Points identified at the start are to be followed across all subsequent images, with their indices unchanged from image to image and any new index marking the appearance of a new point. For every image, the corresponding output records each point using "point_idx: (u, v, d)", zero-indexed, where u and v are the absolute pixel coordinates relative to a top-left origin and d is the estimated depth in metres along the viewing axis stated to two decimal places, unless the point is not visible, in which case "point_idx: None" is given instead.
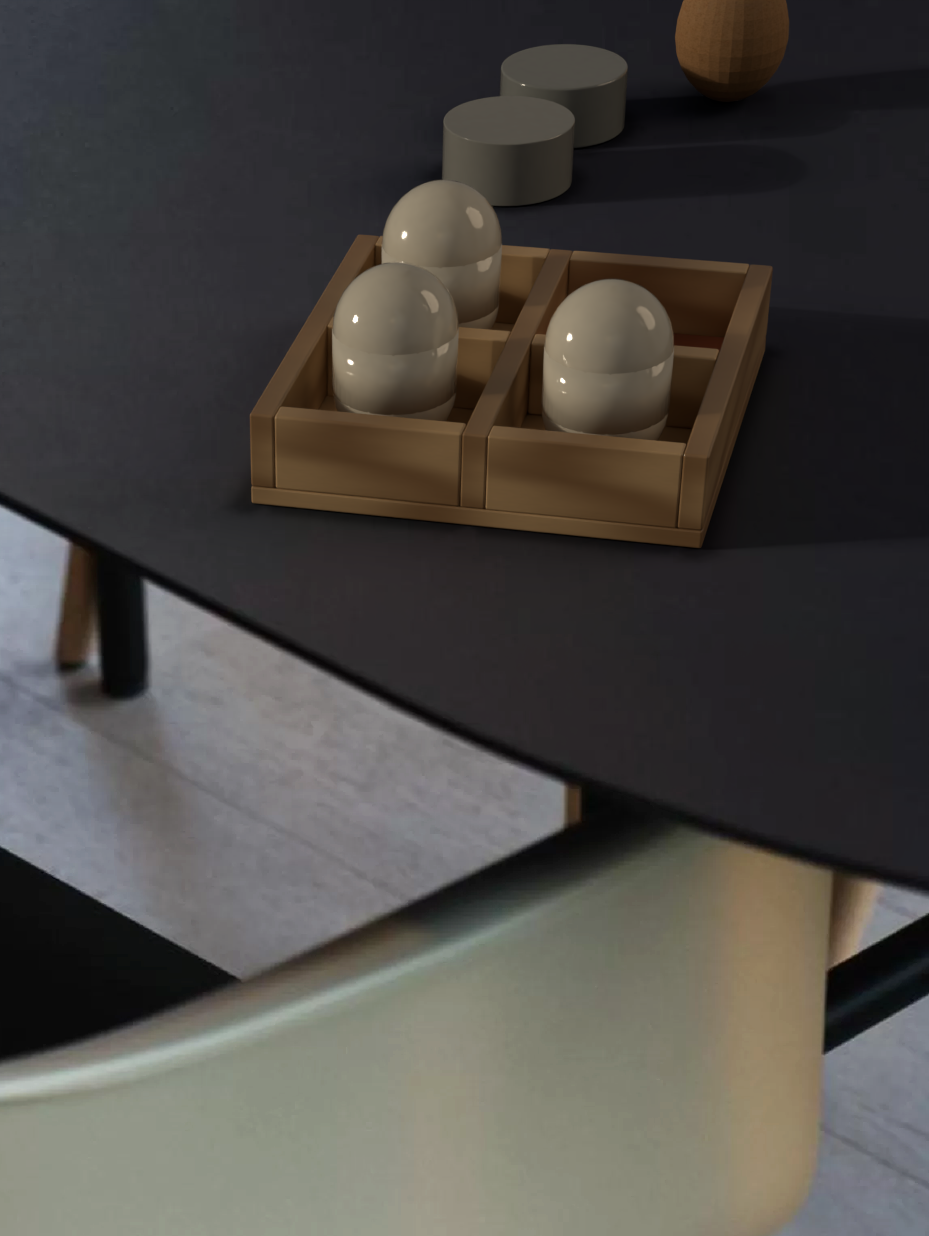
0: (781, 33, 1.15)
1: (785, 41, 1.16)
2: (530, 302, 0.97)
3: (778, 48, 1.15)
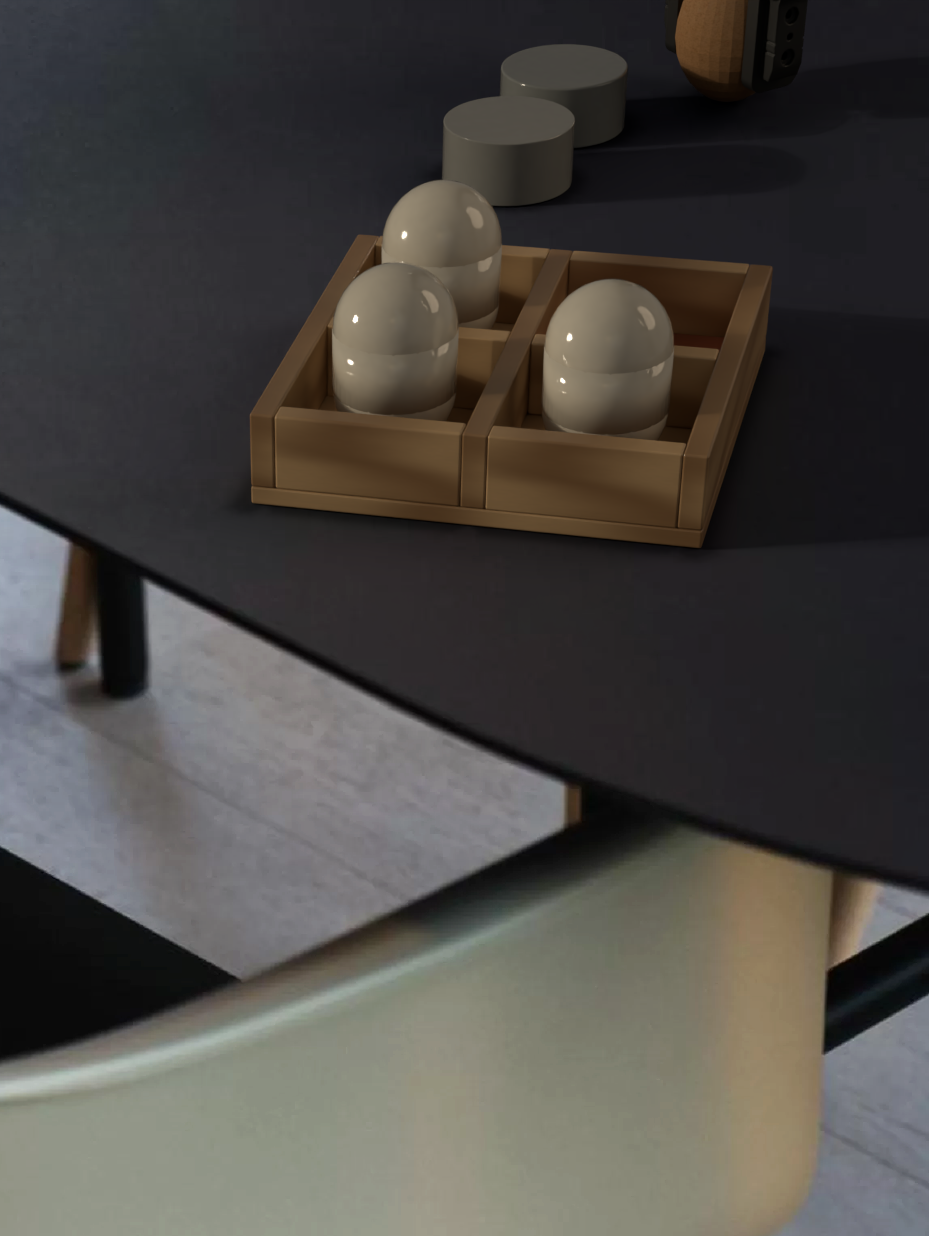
0: None
1: None
2: (530, 302, 0.97)
3: None
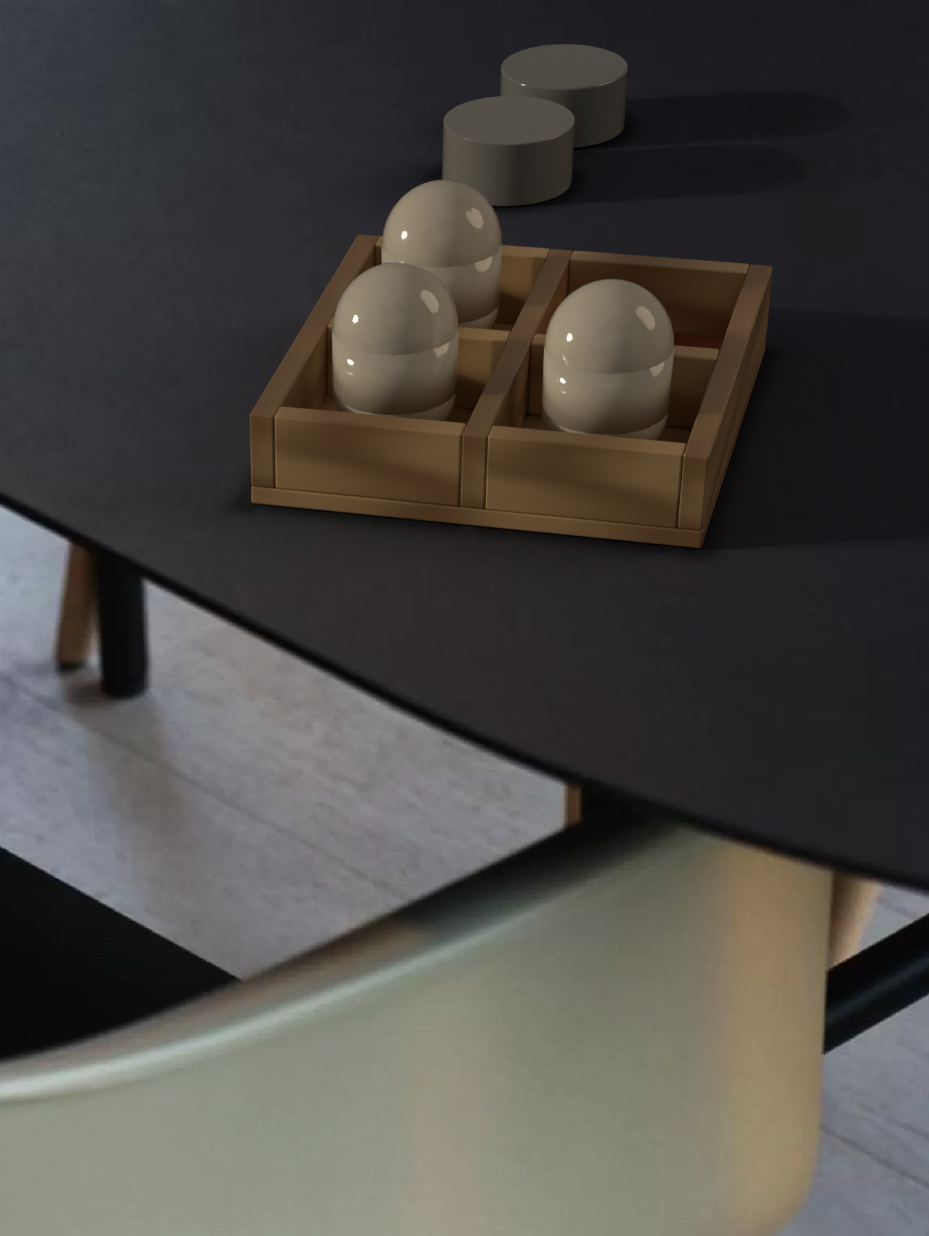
0: None
1: None
2: (530, 302, 0.97)
3: None
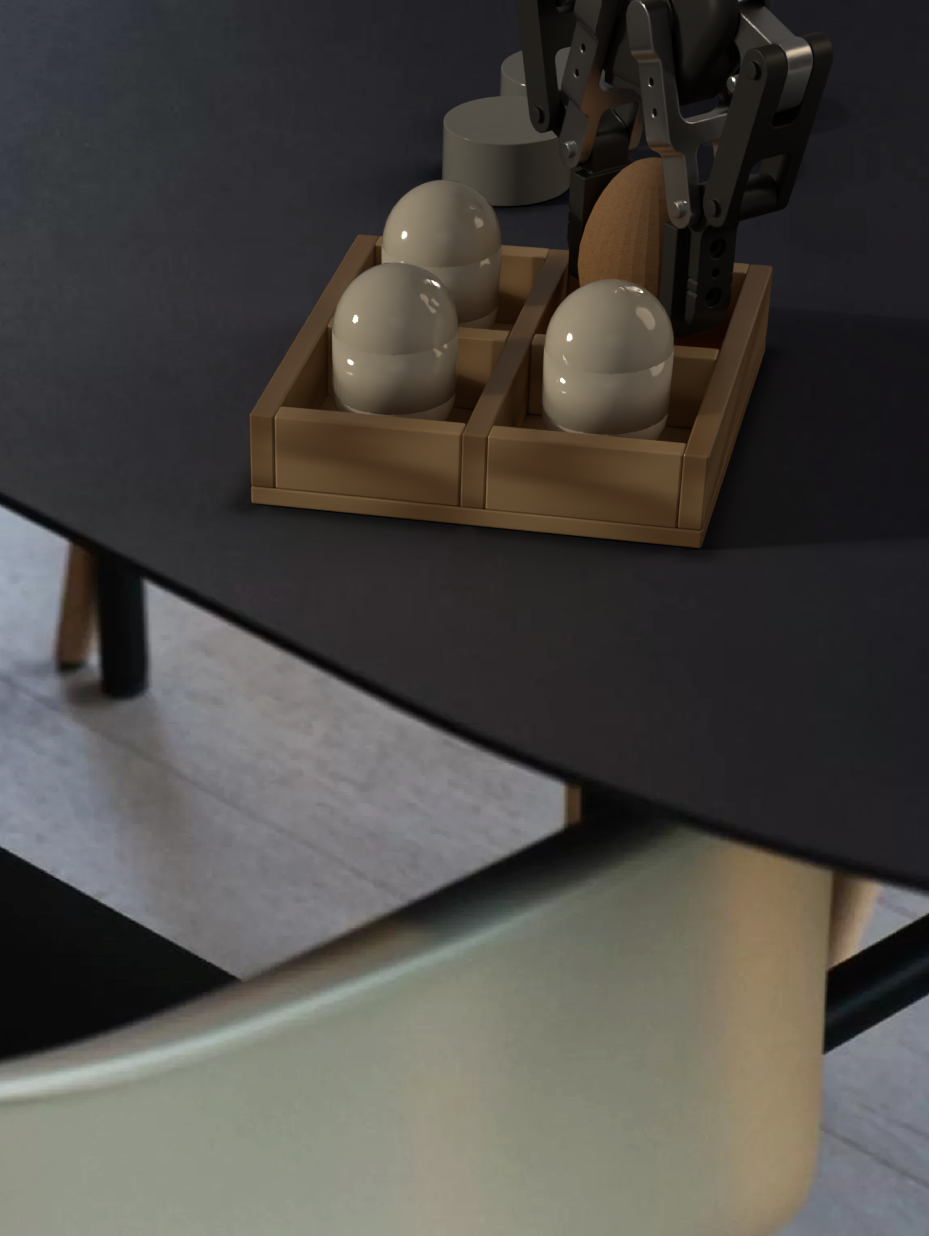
0: None
1: None
2: (530, 302, 0.97)
3: None
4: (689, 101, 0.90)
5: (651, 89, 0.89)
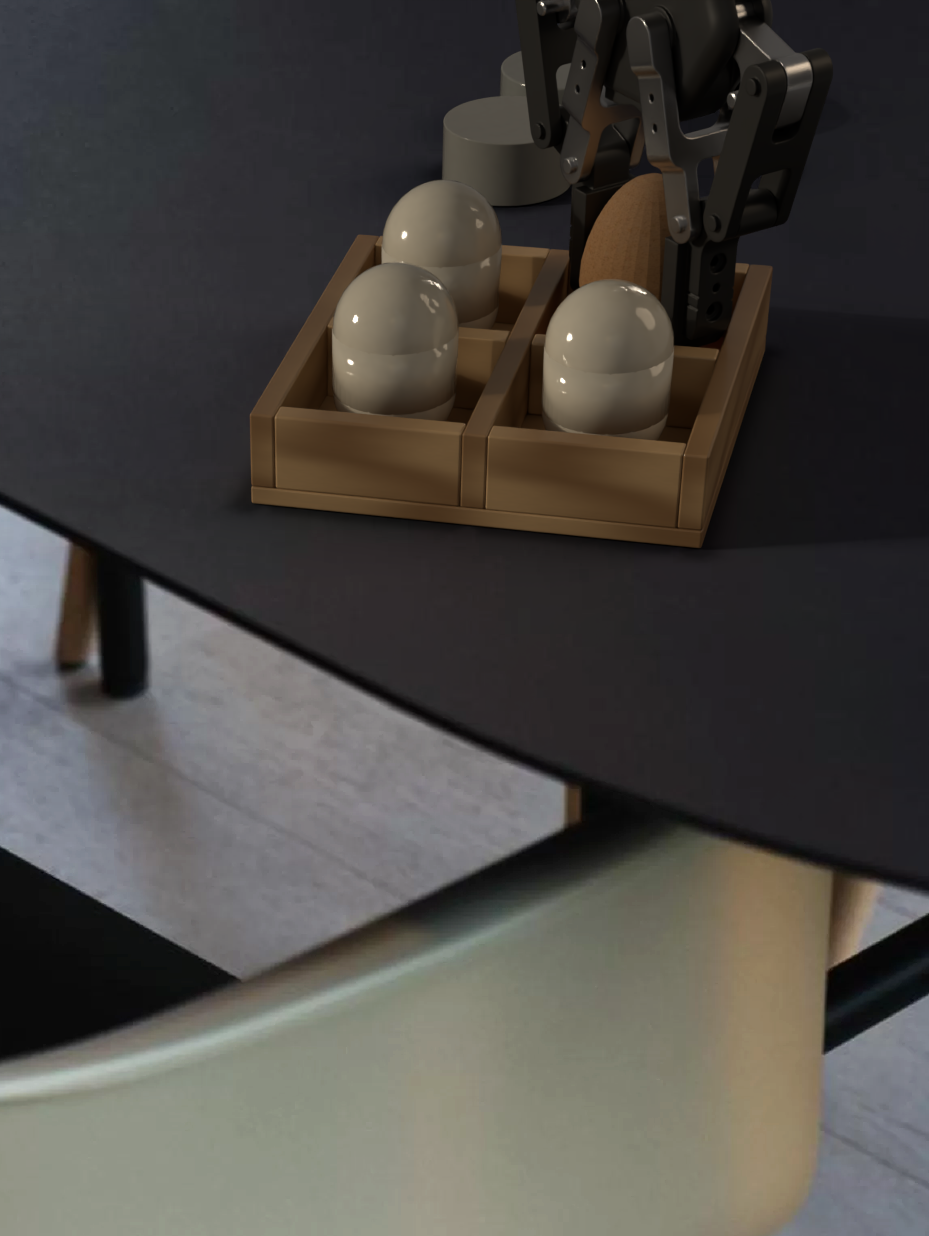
0: None
1: None
2: (530, 302, 0.97)
3: None
4: (689, 117, 0.90)
5: (651, 105, 0.90)
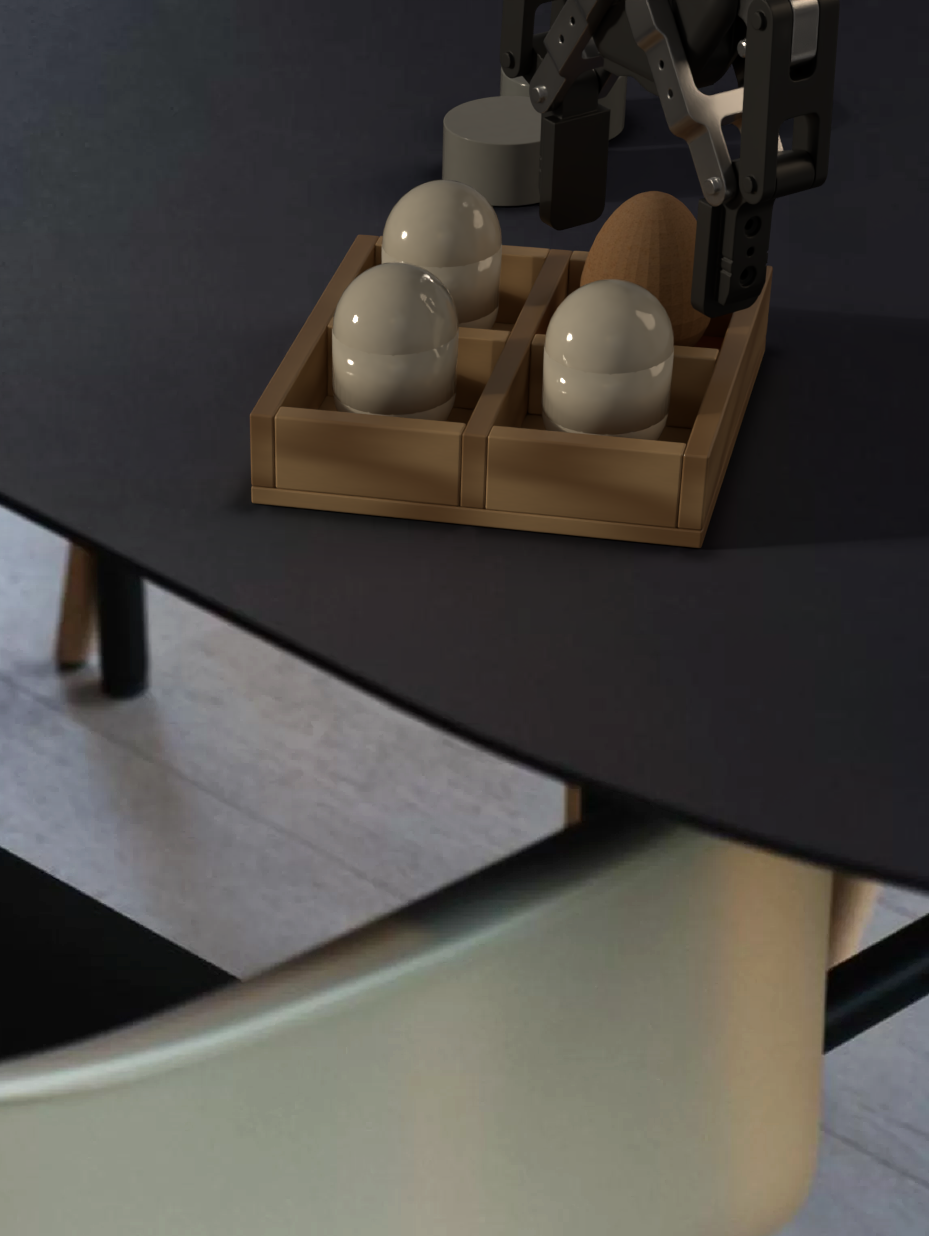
0: None
1: None
2: (530, 302, 0.97)
3: (702, 315, 0.95)
4: None
5: (663, 72, 0.89)
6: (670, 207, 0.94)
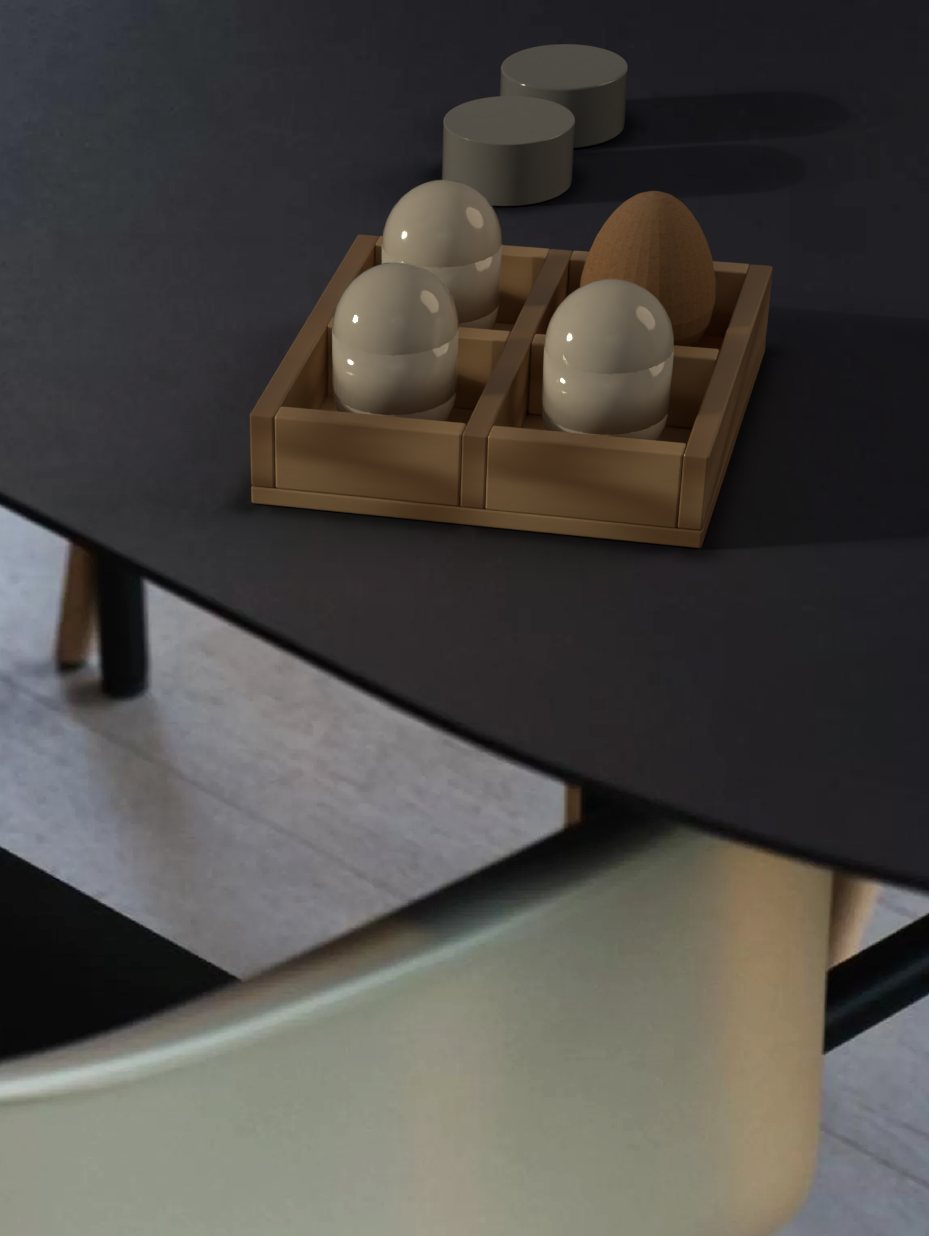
0: (706, 297, 0.95)
1: (711, 305, 0.95)
2: (530, 302, 0.97)
3: (702, 315, 0.95)
4: None
5: None
6: (670, 207, 0.94)
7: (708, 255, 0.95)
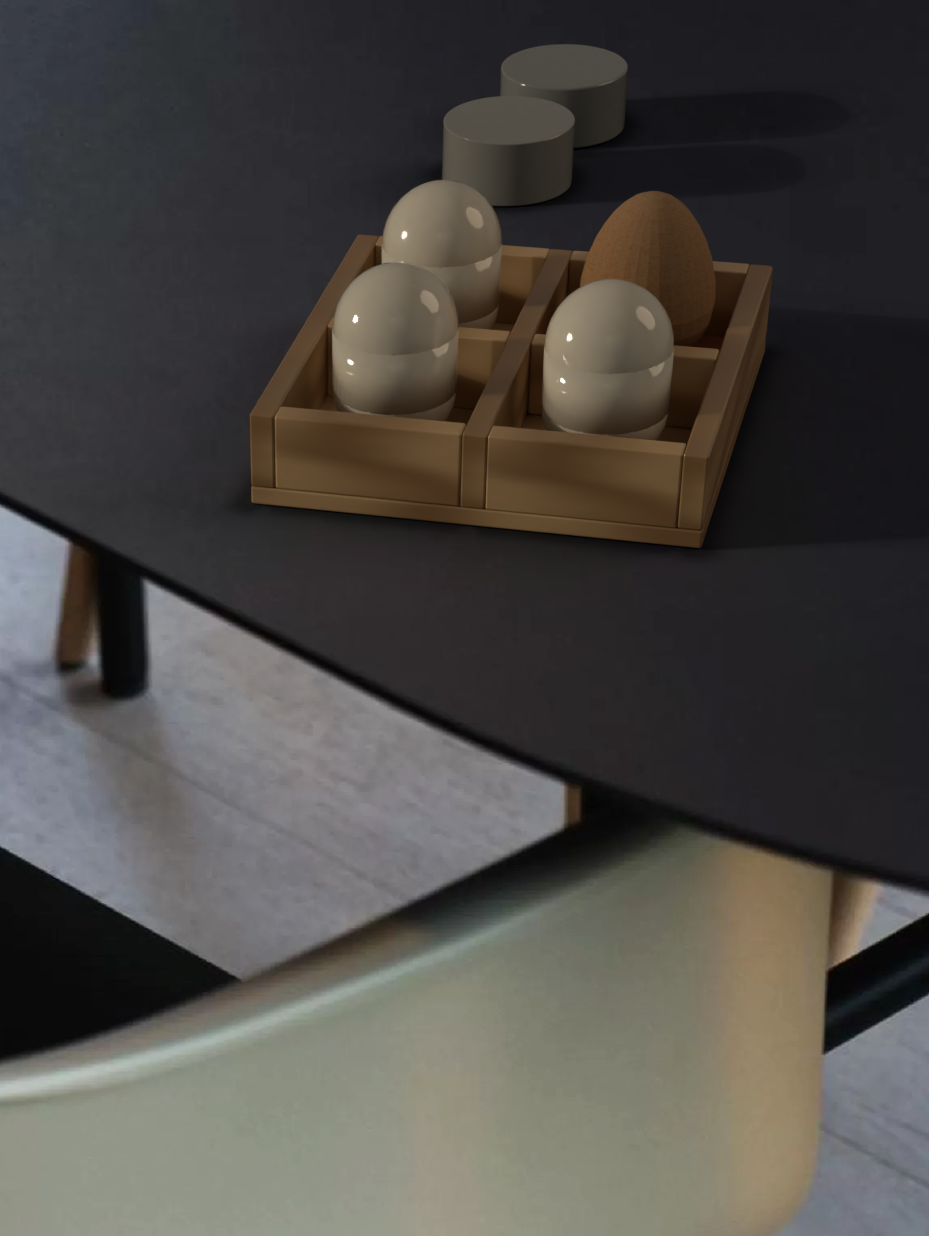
0: (706, 297, 0.95)
1: (711, 305, 0.95)
2: (530, 302, 0.97)
3: (702, 315, 0.95)
4: None
5: None
6: (670, 207, 0.94)
7: (708, 255, 0.95)
